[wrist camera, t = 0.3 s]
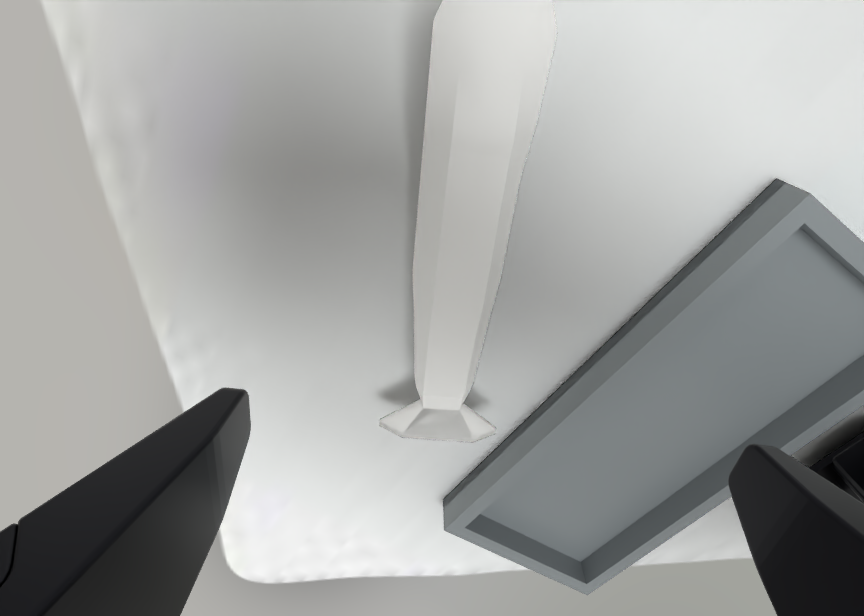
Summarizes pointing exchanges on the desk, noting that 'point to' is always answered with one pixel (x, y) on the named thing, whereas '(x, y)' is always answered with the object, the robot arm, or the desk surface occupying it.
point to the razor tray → (680, 398)
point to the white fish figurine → (469, 196)
